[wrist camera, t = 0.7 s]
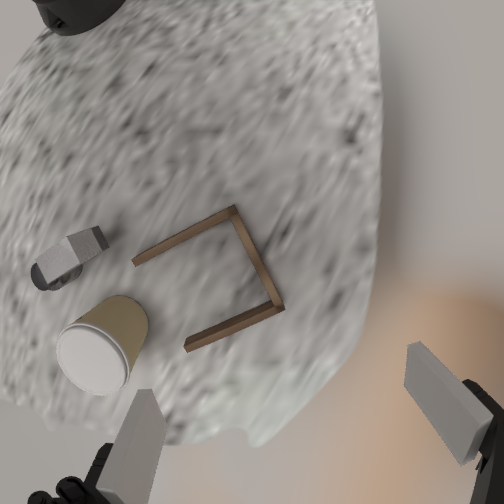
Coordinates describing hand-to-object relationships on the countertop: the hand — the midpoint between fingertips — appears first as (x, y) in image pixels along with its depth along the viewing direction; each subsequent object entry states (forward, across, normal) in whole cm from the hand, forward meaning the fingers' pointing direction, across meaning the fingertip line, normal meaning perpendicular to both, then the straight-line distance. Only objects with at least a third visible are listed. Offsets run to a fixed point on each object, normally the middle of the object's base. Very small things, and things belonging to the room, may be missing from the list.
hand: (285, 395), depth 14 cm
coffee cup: (+26, -20, -5) cm, 33 cm away
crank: (+20, -22, +6) cm, 31 cm away
